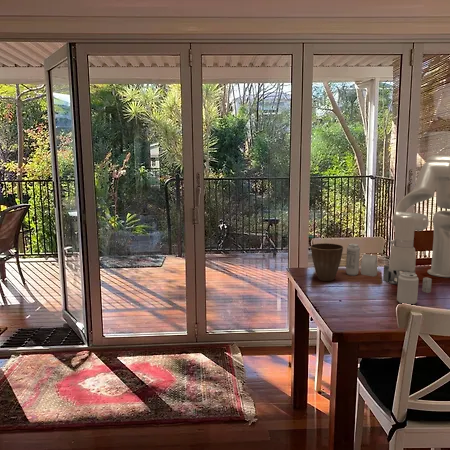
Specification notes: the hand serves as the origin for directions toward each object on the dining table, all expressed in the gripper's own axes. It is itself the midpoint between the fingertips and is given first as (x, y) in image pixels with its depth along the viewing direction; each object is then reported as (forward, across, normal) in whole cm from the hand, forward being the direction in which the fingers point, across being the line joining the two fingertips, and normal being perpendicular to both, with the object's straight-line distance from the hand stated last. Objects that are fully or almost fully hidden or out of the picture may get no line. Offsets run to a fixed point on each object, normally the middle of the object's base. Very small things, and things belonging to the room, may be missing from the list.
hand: (400, 285), depth 184 cm
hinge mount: (+3, -4, +16) cm, 16 cm away
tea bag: (+3, -14, +26) cm, 29 cm away
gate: (+3, +1, +8) cm, 8 cm away
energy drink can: (+3, -22, +23) cm, 32 cm away
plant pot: (+4, -33, +10) cm, 35 cm away
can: (+4, +2, -12) cm, 13 cm away
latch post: (+3, +11, +6) cm, 13 cm away
